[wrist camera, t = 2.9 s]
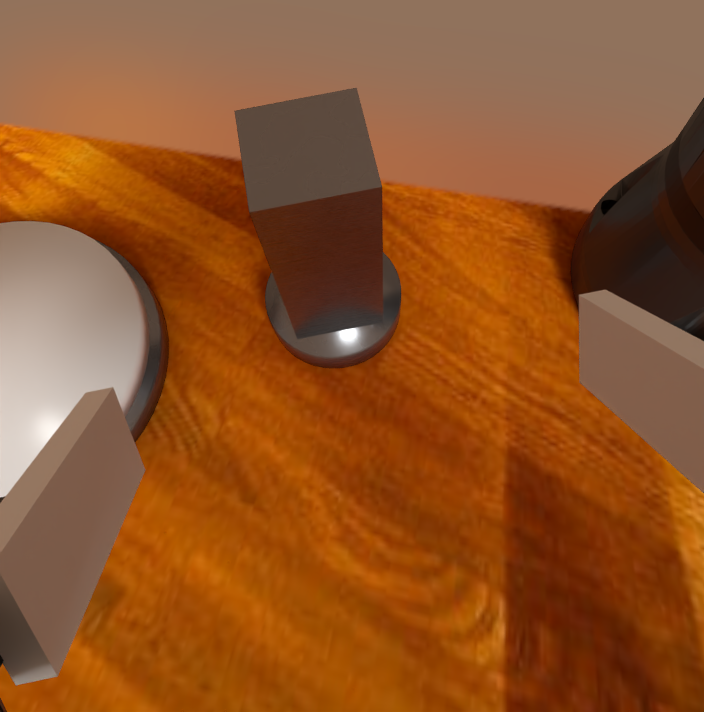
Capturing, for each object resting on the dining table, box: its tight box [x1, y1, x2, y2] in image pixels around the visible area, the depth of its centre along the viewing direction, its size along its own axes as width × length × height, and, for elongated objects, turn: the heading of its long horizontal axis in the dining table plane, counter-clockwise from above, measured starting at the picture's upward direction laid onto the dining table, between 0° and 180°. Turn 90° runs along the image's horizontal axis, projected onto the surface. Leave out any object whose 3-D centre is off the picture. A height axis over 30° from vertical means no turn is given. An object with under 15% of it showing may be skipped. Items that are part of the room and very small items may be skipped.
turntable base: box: [95, 240, 168, 442], centre depth 33 cm, size 18×18×2 cm
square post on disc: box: [235, 88, 401, 368], centre depth 28 cm, size 8×8×14 cm
